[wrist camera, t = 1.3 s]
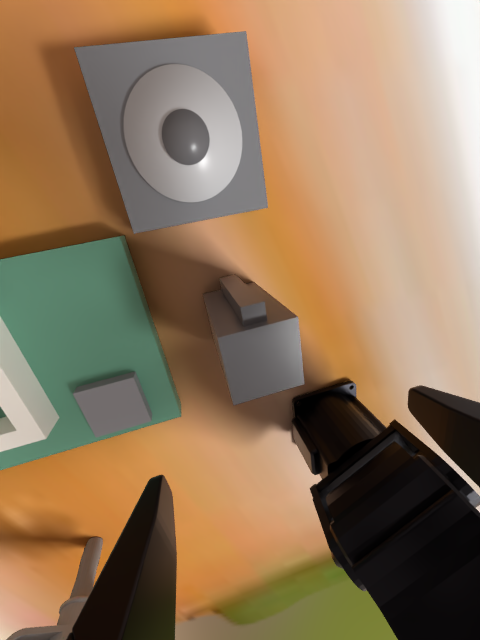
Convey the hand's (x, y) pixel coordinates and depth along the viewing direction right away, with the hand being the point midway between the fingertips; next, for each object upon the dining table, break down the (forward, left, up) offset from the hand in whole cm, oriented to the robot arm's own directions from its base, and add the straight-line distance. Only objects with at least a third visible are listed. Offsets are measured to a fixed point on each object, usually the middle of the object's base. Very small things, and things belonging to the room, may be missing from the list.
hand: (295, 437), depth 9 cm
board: (+16, 0, -12) cm, 20 cm away
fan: (+1, -11, -12) cm, 17 cm away
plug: (0, 0, -12) cm, 13 cm away
